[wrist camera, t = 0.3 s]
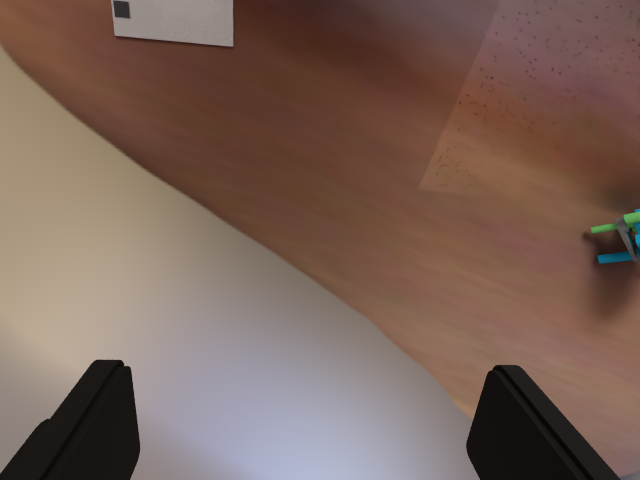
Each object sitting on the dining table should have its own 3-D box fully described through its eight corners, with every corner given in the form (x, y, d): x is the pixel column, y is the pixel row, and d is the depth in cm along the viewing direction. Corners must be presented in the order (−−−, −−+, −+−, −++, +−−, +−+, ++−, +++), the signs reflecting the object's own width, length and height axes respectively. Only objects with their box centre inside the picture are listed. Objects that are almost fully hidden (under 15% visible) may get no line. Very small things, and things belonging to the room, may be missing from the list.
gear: (677, 252, 43) (684, 318, 37) (615, 260, 47) (613, 320, 42) (646, 179, 39) (649, 240, 34) (582, 195, 44) (575, 251, 38)
